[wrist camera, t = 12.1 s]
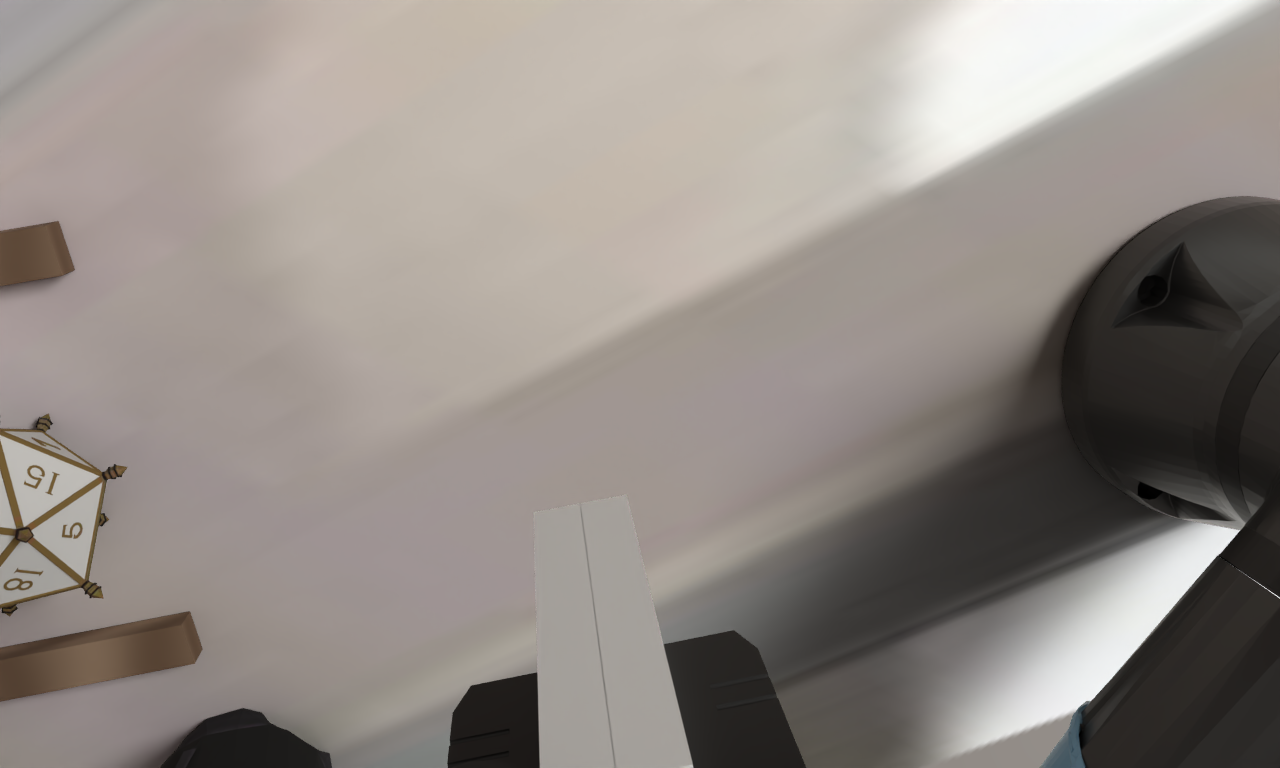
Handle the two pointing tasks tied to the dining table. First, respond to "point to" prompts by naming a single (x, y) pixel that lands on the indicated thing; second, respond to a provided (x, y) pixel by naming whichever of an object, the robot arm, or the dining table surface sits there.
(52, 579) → the game die
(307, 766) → the portable speaker
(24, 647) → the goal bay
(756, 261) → the dining table surface
